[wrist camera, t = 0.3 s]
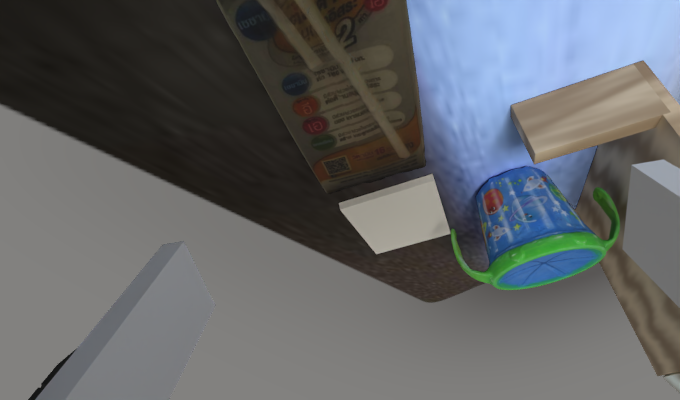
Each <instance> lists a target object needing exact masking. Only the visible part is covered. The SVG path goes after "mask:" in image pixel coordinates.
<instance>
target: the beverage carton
mask: <svg viewBox="0 0 680 400" xmlns="http://www.w3.org/2000/svg"><path fill="white" fill-rule="evenodd" d="M216 2H217V4H218V6H219V8H220V9H221V11H222V13H223V15H224V17H225V19H226V21H227V23H228V25H229V26H230V28H231V30H232V31H233V33H234V35H235V36H236V38H237V40H238V41H239V43H240V45H241V47H242V48H243V50H244V52H245V54H246V56H247V58H248V60H249V61H250V63H251V65H252V66H253V68H254V70H255V71H256V73H257V76H258V78H259V79H260V81H261V82H262V84H263V86H264V88H265V89H266V91H267V93H268V95H269V97H270V98H271V100H272V102H273V104H274V106H275V107H276V109H277V111H278V113H279V114H280V116H281V118H282V120H283V121H284V123H285V125H286V127H287V128H288V130H289V132H290V134H291V135H292V137H293V139H294V141H295V142H296V144H297V146H298V147H299V149H300V151H301V152H302V154H303V156H304V157H305V159H306V161H307V162H308V164H309V166H310V168H311V169H312V171H313V172H314V174H315V175H316V177H317V179H318V181H319V182H320V184H321V185H322V187H323V188H324V190H325V192H326V193H327V194H331V193H334V192H337V191H340V190H343V189H345V188H348V187H352V186H356V185H359V184H362V183H371V182H374V181H377V180H381V179H383V178H385V177H389V176H392V175H394V174H398V173H403V172H408V171H412V170H415V169H419V168H423V167H425V166H426V160H425V156H424V152H425V148H424V136H423V125H422V117H421V108H420V100H419V90H418V82H417V75H416V68H415V60H414V53H413V46H412V38H411V30H410V23H409V17H408V10H407V2H406V0H216Z"/></svg>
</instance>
